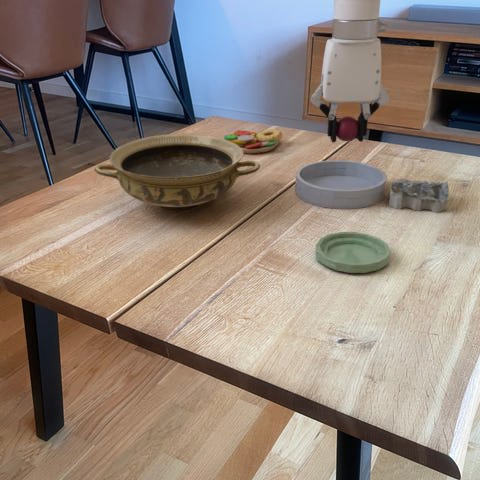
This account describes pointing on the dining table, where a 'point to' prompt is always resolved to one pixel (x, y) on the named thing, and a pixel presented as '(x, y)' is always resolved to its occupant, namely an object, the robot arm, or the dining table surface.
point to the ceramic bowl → (177, 169)
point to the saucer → (353, 252)
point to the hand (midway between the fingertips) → (346, 138)
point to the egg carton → (419, 195)
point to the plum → (347, 128)
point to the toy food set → (255, 140)
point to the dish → (340, 184)
